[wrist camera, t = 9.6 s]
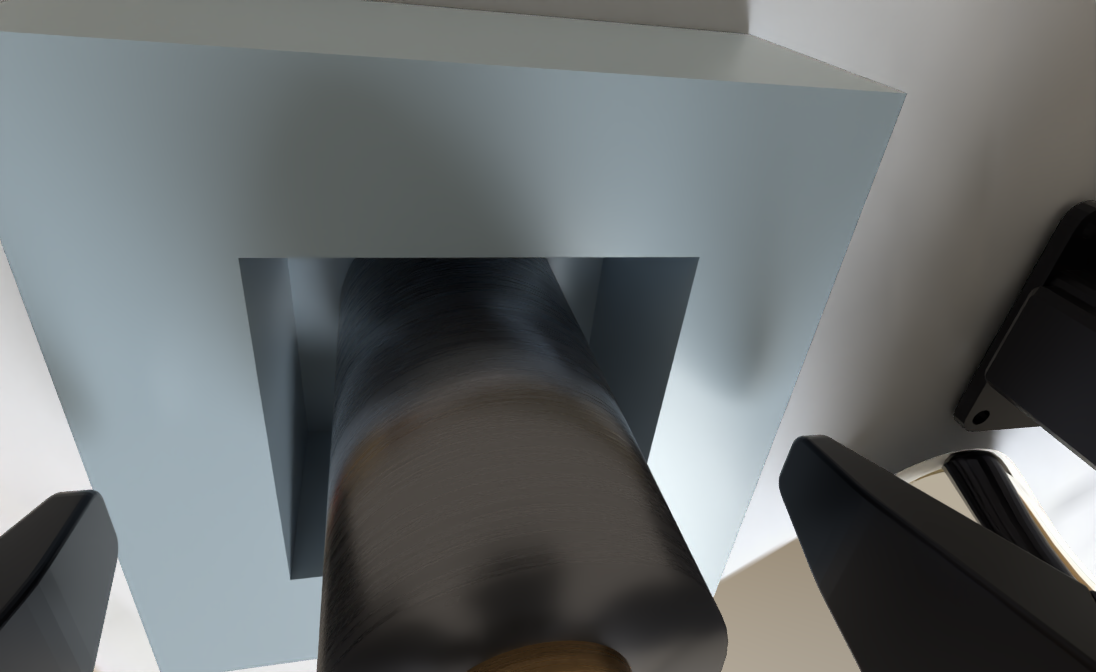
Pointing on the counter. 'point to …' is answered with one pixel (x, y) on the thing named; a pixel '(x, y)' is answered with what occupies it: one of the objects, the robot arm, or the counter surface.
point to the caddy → (398, 252)
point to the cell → (493, 489)
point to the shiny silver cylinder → (997, 503)
